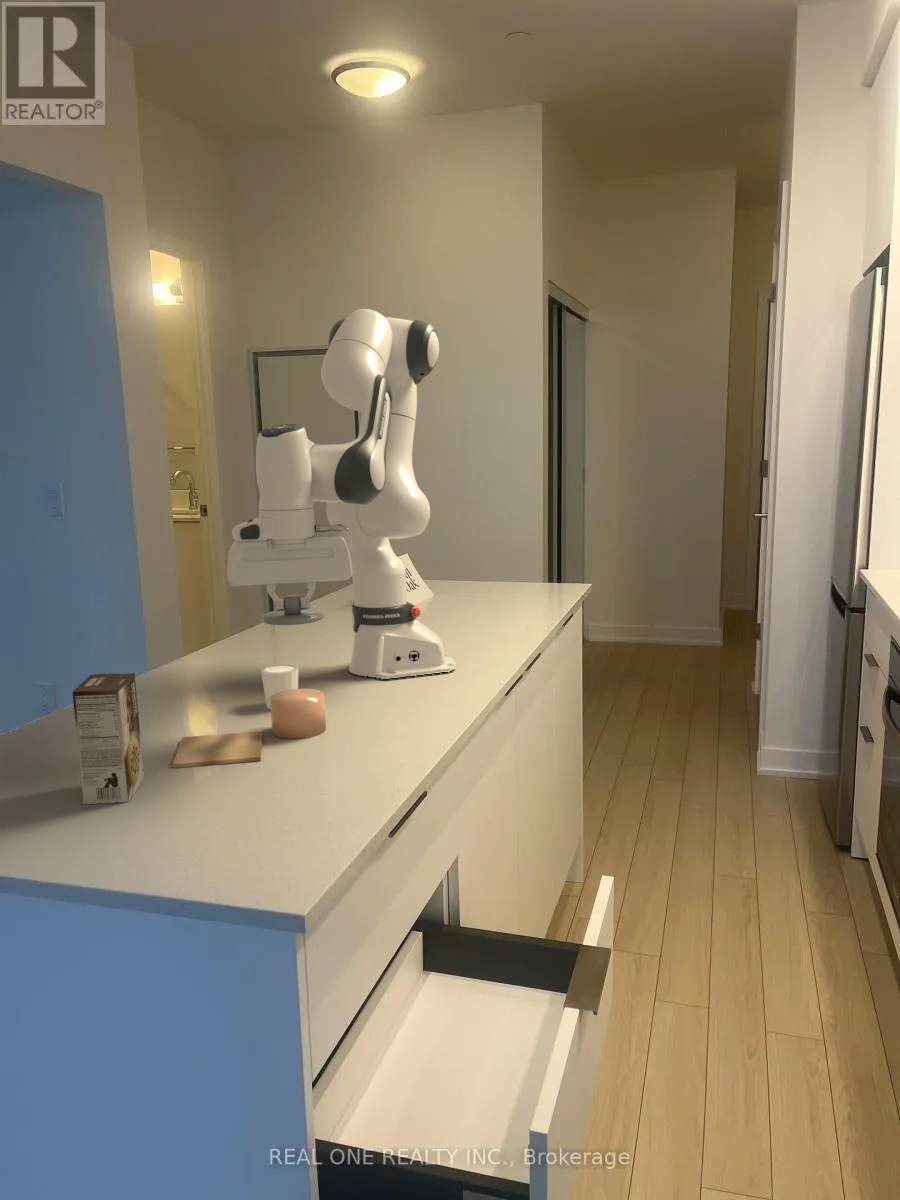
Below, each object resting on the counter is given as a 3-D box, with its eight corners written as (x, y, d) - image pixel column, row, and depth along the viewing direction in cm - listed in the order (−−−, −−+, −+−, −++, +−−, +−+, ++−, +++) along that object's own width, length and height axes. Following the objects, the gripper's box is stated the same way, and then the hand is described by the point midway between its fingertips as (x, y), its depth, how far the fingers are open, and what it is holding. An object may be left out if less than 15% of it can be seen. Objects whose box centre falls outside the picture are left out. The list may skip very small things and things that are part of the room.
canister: (325, 720, 161) (323, 687, 160) (327, 736, 152) (325, 701, 151) (272, 724, 160) (270, 690, 159) (271, 740, 151) (269, 705, 150)
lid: (322, 611, 158) (321, 589, 158) (324, 622, 149) (323, 599, 148) (263, 615, 157) (261, 593, 156) (261, 626, 147) (259, 603, 146)
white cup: (307, 701, 173) (305, 665, 172) (289, 712, 167) (287, 674, 165) (274, 699, 175) (272, 663, 174) (255, 709, 169) (253, 672, 168)
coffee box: (100, 781, 135) (90, 673, 132) (145, 778, 135) (136, 671, 132) (81, 805, 126) (69, 690, 123) (129, 802, 126) (119, 688, 123)
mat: (262, 734, 154) (262, 731, 154) (260, 760, 141) (260, 757, 141) (182, 740, 152) (182, 737, 152) (172, 767, 139) (172, 764, 139)
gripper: (350, 521, 155) (354, 602, 157) (225, 527, 151) (231, 610, 154) (352, 525, 149) (357, 609, 151) (222, 531, 145) (229, 617, 148)
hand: (292, 609), depth 152 cm, fingers closed on lid, 3 cm apart
